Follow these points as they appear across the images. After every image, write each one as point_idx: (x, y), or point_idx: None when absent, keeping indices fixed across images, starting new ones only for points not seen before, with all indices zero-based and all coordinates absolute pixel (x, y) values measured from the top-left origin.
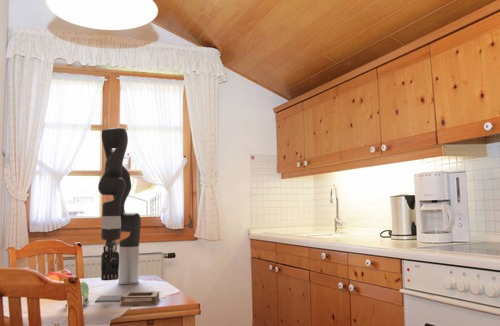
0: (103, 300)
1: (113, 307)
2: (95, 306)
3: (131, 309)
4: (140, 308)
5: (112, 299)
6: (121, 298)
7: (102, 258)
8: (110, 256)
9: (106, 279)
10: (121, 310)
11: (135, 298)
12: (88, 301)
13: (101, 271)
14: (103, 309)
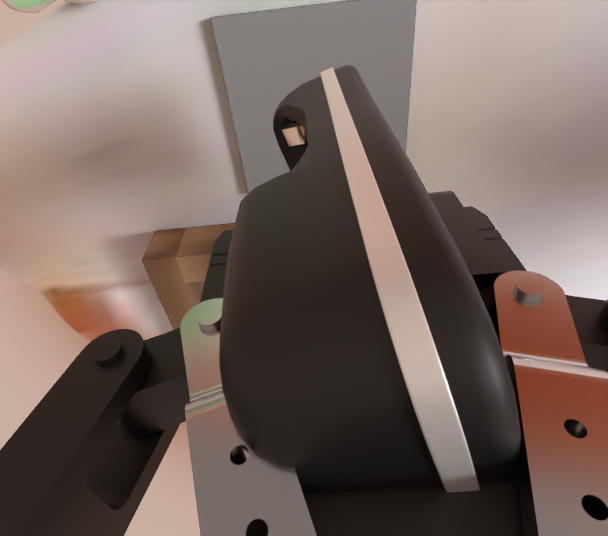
0: (227, 92)
1: (96, 210)
2: (76, 82)
3: (91, 299)
4: (124, 324)
5: (263, 150)
6: (145, 259)
7: (226, 288)
8: (121, 474)
9: (285, 156)
10: (51, 266)
11: (169, 319)
12: (78, 2)
13: (325, 111)
14: (25, 171)
